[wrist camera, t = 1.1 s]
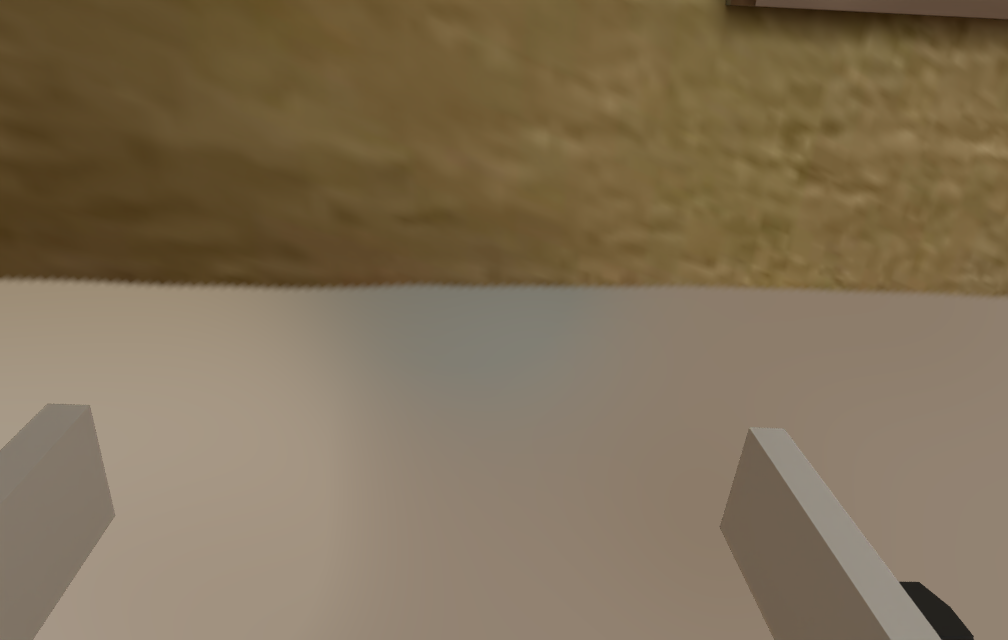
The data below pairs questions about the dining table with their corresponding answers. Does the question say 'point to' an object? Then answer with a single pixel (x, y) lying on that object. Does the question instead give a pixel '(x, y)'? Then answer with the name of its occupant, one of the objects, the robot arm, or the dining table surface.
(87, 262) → the dining table surface
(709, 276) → the dining table surface
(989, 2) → the brown wooden tray
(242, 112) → the dining table surface
